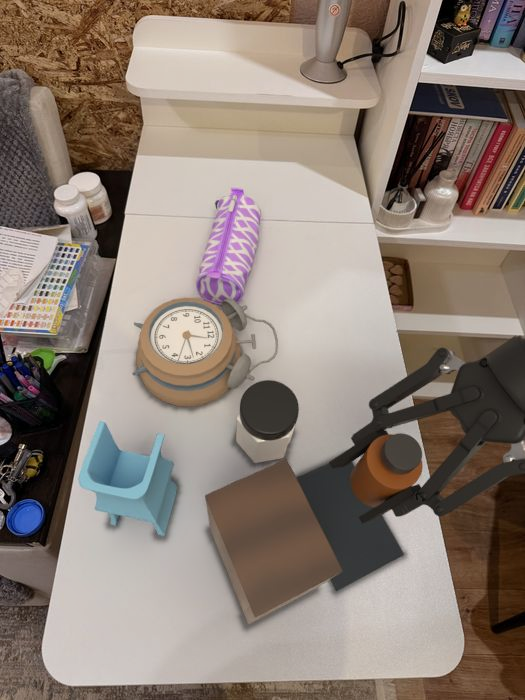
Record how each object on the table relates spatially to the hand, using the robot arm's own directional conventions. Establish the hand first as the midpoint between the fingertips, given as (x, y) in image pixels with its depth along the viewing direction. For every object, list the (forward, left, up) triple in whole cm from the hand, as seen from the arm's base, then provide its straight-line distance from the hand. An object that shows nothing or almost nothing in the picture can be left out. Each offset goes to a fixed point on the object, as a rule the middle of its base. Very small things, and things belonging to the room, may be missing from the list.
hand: (351, 490), depth 55 cm
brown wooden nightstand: (0, +9, -22) cm, 24 cm away
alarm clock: (+32, +4, -22) cm, 39 cm away
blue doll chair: (+14, +21, -22) cm, 34 cm away
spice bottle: (0, -4, -2) cm, 4 cm away
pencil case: (+50, -8, -22) cm, 55 cm away
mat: (0, -4, -22) cm, 22 cm away
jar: (+16, +1, -22) cm, 27 cm away
